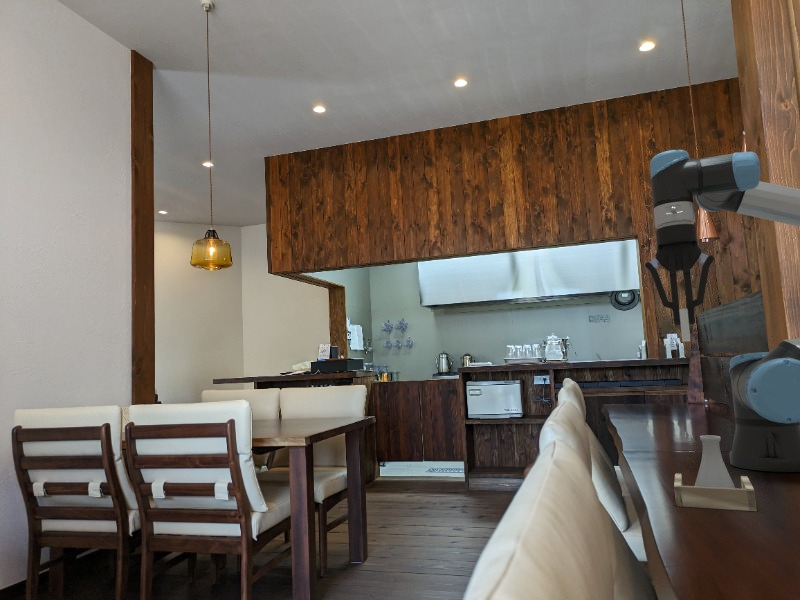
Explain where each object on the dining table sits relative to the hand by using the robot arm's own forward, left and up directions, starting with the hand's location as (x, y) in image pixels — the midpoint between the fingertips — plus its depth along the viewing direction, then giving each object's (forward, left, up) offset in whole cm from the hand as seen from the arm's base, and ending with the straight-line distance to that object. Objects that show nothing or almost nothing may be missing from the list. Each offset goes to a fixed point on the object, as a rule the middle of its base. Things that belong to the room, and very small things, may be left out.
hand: (686, 341), depth 116 cm
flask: (+11, +15, -27) cm, 32 cm away
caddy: (+12, +16, -26) cm, 33 cm away
